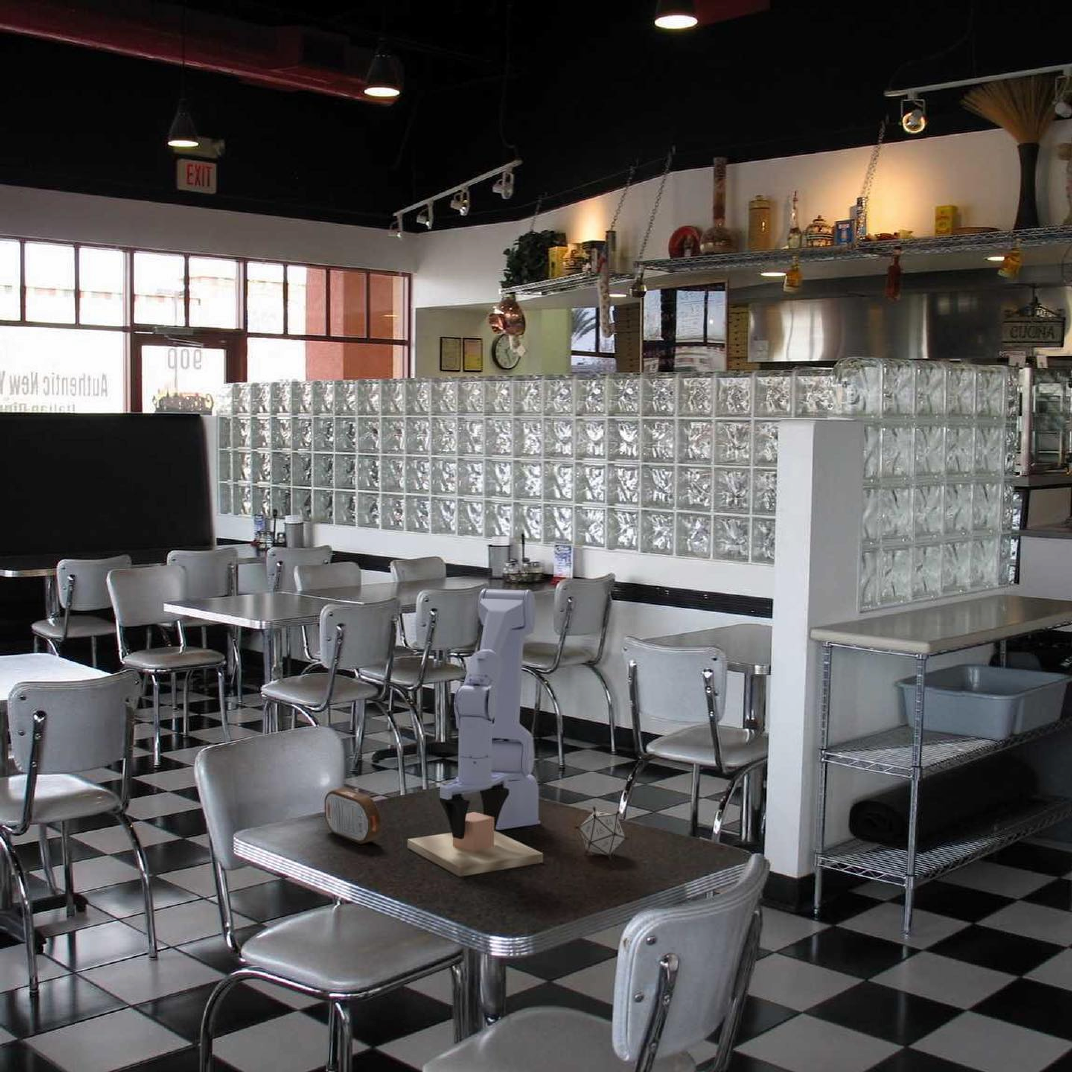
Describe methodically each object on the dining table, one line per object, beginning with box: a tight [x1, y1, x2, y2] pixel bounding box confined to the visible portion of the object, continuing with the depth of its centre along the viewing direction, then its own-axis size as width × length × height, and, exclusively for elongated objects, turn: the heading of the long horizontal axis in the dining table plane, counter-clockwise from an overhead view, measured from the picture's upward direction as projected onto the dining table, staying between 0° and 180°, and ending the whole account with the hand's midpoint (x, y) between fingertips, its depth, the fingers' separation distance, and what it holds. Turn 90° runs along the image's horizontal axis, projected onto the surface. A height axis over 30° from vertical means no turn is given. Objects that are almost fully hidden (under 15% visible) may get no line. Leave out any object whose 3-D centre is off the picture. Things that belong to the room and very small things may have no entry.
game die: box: [573, 805, 631, 861], centre depth 225 cm, size 9×8×10 cm
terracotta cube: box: [453, 811, 495, 852], centre depth 225 cm, size 5×5×5 cm
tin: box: [324, 786, 382, 845], centre depth 234 cm, size 15×3×8 cm, turn 42°
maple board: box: [407, 830, 544, 878], centre depth 225 cm, size 16×19×2 cm
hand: (474, 833), depth 224 cm, fingers open, 7 cm apart
